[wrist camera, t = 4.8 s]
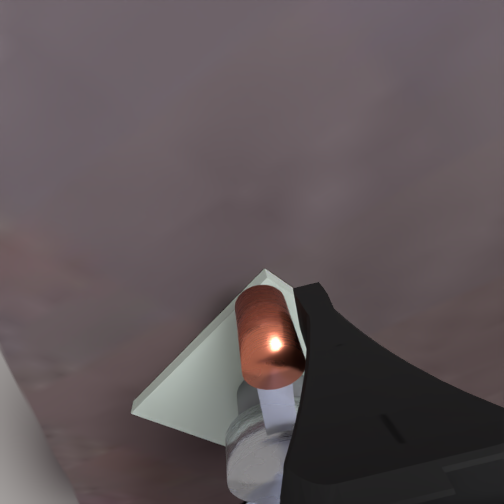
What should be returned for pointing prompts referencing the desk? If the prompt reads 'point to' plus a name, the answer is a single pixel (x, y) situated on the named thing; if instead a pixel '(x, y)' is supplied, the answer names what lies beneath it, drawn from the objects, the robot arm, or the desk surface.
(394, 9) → the desk surface
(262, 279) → the base
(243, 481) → the key lever
